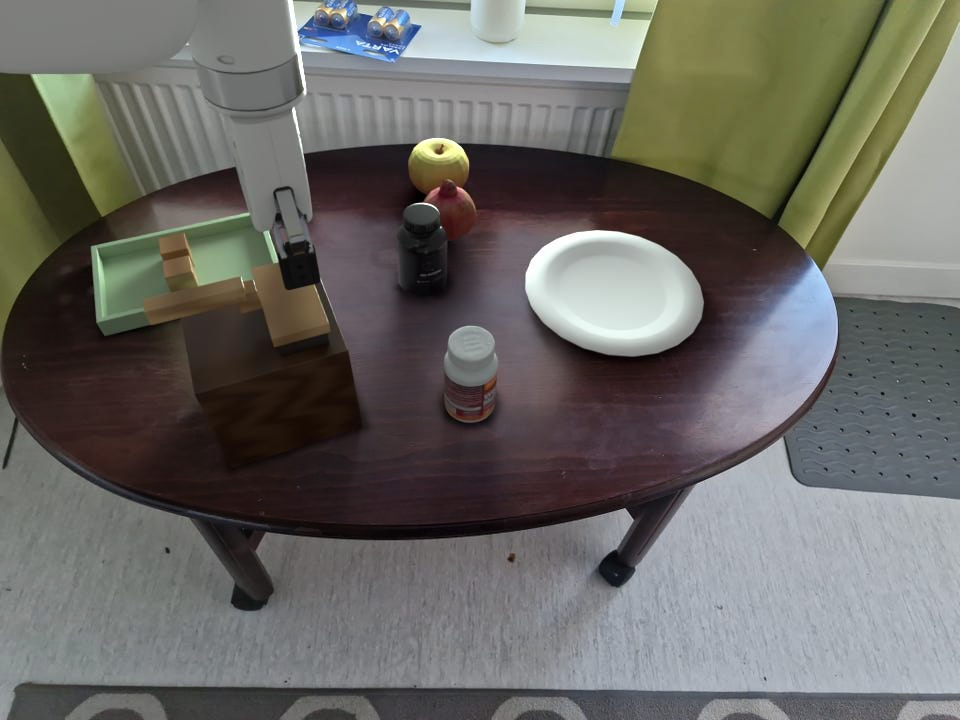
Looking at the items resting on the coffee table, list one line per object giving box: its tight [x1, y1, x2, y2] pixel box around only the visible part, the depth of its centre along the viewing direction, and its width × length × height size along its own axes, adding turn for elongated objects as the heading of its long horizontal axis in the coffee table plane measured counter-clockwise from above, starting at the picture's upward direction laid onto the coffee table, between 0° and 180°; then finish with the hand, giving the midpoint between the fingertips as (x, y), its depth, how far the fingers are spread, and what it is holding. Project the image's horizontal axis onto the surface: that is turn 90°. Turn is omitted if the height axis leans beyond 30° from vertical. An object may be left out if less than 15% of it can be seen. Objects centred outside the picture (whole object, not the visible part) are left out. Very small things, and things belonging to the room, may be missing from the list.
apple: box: [407, 137, 470, 196], centre depth 103 cm, size 10×10×8 cm
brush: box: [143, 263, 331, 357], centre depth 64 cm, size 16×11×6 cm
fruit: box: [422, 180, 477, 242], centre depth 95 cm, size 8×8×10 cm
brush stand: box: [179, 277, 364, 469], centre depth 72 cm, size 15×13×14 cm
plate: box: [524, 229, 705, 358], centre depth 91 cm, size 25×25×2 cm
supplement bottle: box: [395, 202, 449, 298], centre depth 87 cm, size 7×7×12 cm
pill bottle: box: [443, 325, 499, 424], centre depth 75 cm, size 6×6×11 cm
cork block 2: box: [162, 256, 199, 293], centre depth 88 cm, size 4×4×4 cm
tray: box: [90, 211, 278, 337], centre depth 90 cm, size 24×16×3 cm, turn 113°
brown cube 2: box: [158, 233, 195, 267], centre depth 91 cm, size 4×4×4 cm
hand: (291, 251), depth 61 cm, fingers open, 9 cm apart
